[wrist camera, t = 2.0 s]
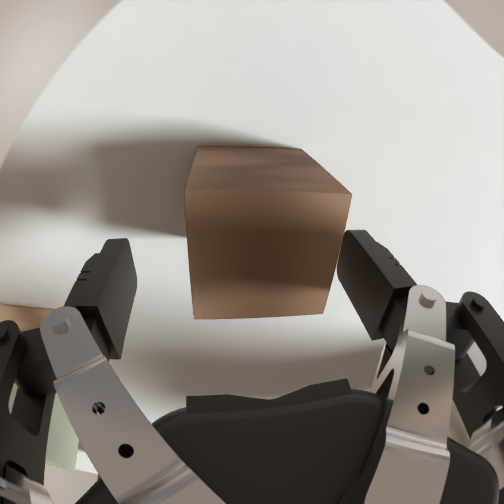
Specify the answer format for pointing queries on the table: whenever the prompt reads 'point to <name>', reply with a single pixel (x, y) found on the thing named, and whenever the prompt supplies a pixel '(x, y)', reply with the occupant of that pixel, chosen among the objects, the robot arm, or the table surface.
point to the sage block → (57, 436)
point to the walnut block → (262, 232)
